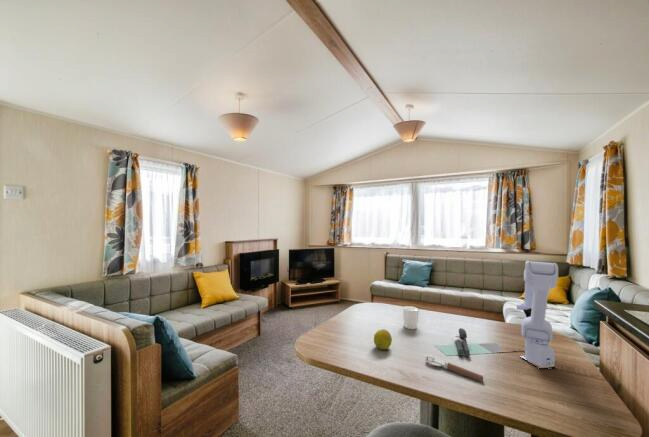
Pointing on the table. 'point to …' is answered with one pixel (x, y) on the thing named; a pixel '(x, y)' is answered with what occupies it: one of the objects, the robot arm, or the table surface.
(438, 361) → the brown handled opener
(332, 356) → the table surface
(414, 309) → the white cup
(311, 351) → the table surface
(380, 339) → the lemon
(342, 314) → the table surface
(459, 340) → the can opener
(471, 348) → the mat
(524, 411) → the table surface
